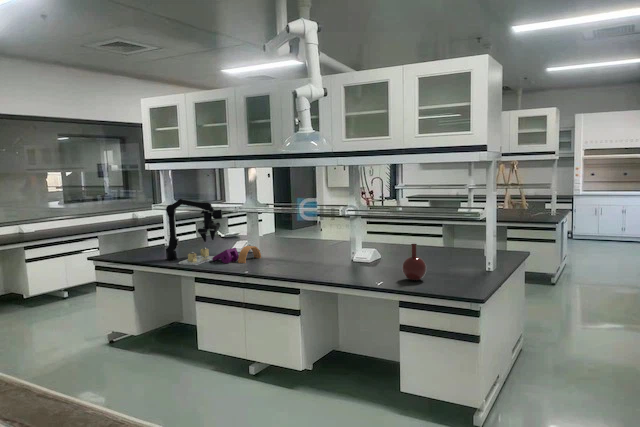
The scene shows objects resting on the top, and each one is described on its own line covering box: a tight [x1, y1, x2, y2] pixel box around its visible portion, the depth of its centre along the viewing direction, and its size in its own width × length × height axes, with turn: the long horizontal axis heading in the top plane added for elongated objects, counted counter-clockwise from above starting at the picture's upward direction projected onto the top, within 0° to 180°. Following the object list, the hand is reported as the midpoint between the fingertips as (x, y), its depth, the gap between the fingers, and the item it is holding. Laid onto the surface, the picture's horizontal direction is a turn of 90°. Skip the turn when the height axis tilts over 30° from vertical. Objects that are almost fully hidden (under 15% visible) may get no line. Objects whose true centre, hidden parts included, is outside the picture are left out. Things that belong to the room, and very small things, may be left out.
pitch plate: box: [178, 255, 214, 266], centre depth 331 cm, size 14×24×2 cm, turn 160°
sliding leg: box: [200, 246, 210, 257], centre depth 339 cm, size 4×4×6 cm
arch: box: [237, 245, 262, 264], centre depth 329 cm, size 6×20×10 cm, turn 154°
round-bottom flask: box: [401, 243, 427, 281], centre depth 258 cm, size 13×13×20 cm
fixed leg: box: [187, 251, 197, 262], centre depth 325 cm, size 4×4×6 cm
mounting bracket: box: [212, 247, 239, 264], centre depth 328 cm, size 9×8×18 cm
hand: (209, 240), depth 343 cm, fingers open, 9 cm apart
